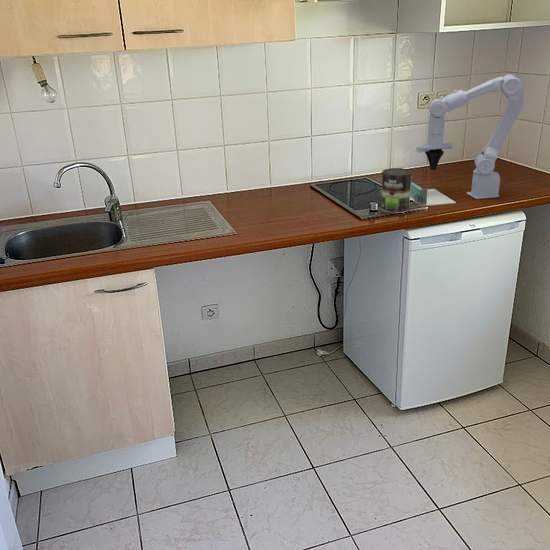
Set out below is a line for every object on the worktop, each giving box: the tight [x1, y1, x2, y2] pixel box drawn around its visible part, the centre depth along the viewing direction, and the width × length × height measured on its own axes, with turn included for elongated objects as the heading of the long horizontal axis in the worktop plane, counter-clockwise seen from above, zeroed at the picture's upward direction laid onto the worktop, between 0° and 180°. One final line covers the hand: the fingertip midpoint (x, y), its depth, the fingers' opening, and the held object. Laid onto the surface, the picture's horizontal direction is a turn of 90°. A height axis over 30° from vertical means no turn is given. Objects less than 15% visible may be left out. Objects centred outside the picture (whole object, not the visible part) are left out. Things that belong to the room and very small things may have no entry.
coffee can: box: [380, 167, 413, 214], centre depth 207 cm, size 10×10×14 cm
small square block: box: [414, 187, 429, 205], centre depth 215 cm, size 3×6×6 cm, turn 10°
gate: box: [410, 181, 422, 202], centre depth 220 cm, size 2×11×4 cm, turn 10°
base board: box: [410, 188, 457, 207], centre depth 222 cm, size 15×19×1 cm
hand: (432, 169), depth 222 cm, fingers closed
